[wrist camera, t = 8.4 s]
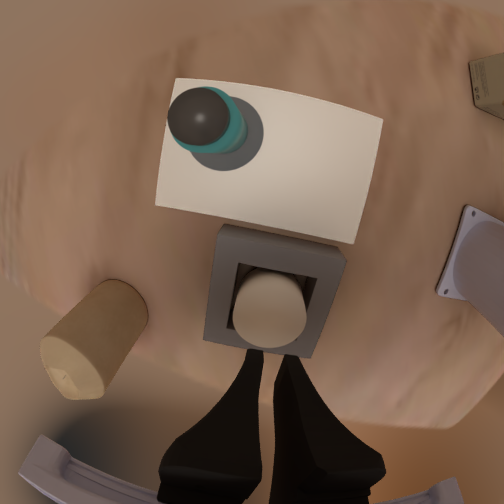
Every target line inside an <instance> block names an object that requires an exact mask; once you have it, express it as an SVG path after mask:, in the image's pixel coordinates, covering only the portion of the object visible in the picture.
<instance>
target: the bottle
mask: <svg viewBox="0 0 504 504" xmlns="http://www.w3.org/2000/svg"><path fill="white" fill-rule="evenodd" d="M167 121H168V126H169V129H170V132H171V134H172V136H173V138H174V140H175V141H176V142H177V143H178V144H179V145H180V146H181V147H183V148H184V149H186V150H188V151H191V152H196V153H220V154H226V153H231V152H234V151H236V150H237V149H239V148H240V147H241V146H242V145H243V144H244V142H245V141H246V138H247V135H248V125H247V122H246V120H245V118H244V117H243V115H242V114H241V112H240V111H239V109H238V108H237V106H236V105H235V103H234V102H233V100H232V99H231V98H230V96H229V95H228V94H226V93H225V92H224V91H222V90H220V89H218V88H215V87H208V86H203V87H197V88H192V89H189V90H186V91H184V92H183V93H181V94H180V95H178V96H177V97H176V98H175V100H174V101H173V102H172V104H171V106H170V108H169V111H168V117H167Z"/></svg>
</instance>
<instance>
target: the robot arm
mask: <svg viewBox="0 0 504 504" xmlns="http://www.w3.org/2000/svg"><path fill="white" fill-rule="evenodd" d="M472 211H473V214H472ZM445 290H446V291H445ZM444 291H445V292H444ZM436 293H437V294H438V295H439V296H442V297H448V298H454V299H459V300H465V301H468V302H470V303H471V304H472V305H473V306H474V307H475V308H476V309H477V310H478V311H479V312H480V313H481V314H482V315H483V316H484V317H485V318H486V319H487V320H488V321H489V322H490V323H491V324H492V325H493V326H494V327H495V328H496V329H497V330H498V332H499V333H500V334H501V335H502V336H503V337H504V222H502V221H500V220H498V219H496V218H494V217H492V216H490V215H489V214H487V213H485V212H483V211H481V210H479V209H476V208H474V207H472V206H470V205H467V206H465V208H464V211H463V215H462V218H461V222H460V225H459V228H458V232H457V235H456V238H455V241H454V244H453V247H452V250H451V253H450V256H449V258H448V261H447V264H446V266H445V269H444V272H443V274H442V277H441V279H440V282H439V284H438V286H437V289H436ZM263 363H264V355H263V350H257V349H252V348H250V349H247V353H246V357H245V361H244V363H243V365H242V367H241V369H240V371H239V373H238V375H237V377H236V378H235V380H234V381H233V383H232V385H231V386H230V388H229V389H228V390H227V392H226V393H225V394H224V396H223V397H222V398H221V400H220V401H219V402H218V403H217V404H216V405H215V406H214V407H213V408H212V410H211V411H210V412H209V413H208V414H207V415H206V416H205V417H203V418H202V419H201V420H200V421H199V422H198V423H197V424H195V425H194V426H193V427H192V428H190V429H189V430H188V431H186V432H185V433H183V434H182V435H181V436H179V437H178V438H176V440H175V441H174V442H173V443H172V445H171V446H170V447H169V448H168V450H167V451H166V453H165V454H164V456H163V458H162V460H161V464H160V467H159V471H158V472H159V476H160V480H161V484H160V488H159V491H158V492H155V491H152V490H149V489H146V488H142V487H140V486H137V485H134V484H131V483H128V482H126V481H123V480H121V479H118V478H116V477H113V476H111V475H108V474H106V473H104V472H101V471H99V470H97V469H95V468H93V467H91V466H88V465H86V464H84V463H82V462H80V461H78V460H76V459H75V458H73V457H71V456H70V454H69V452H68V451H67V450H66V449H65V448H63V447H62V446H60V445H59V444H57V443H55V442H54V441H52V440H50V439H49V438H47V437H45V436H44V435H40V436H39V437H38V439H37V441H36V442H35V444H34V446H33V447H32V449H31V451H30V452H29V454H28V456H27V457H26V459H25V461H24V463H23V464H22V466H21V468H20V470H19V471H18V473H19V475H20V476H22V477H23V478H24V479H25V480H26V481H27V482H29V483H30V484H31V485H32V486H34V487H35V488H36V489H37V490H39V491H40V492H41V493H43V494H44V495H46V496H47V497H49V498H51V499H52V500H54V501H55V502H57V503H59V504H242V503H243V502H244V500H245V499H248V498H249V496H250V495H251V494H252V492H253V491H254V490H255V488H256V487H257V486H258V484H259V483H260V482H261V479H262V461H261V452H260V442H259V418H258V397H259V388H260V382H261V376H262V369H263ZM273 408H274V425H275V454H274V466H273V476H272V485H271V492H270V499H269V504H369V501H368V496H369V495H370V494H371V492H370V487H371V486H373V485H374V484H376V483H377V482H378V481H380V480H381V479H382V478H383V477H384V476H385V474H386V469H385V465H384V461H383V458H382V455H381V454H380V453H378V452H377V451H375V450H374V449H372V448H370V447H369V446H368V445H366V444H365V443H364V442H362V441H361V440H360V439H358V438H357V437H356V436H355V435H354V434H352V433H351V432H350V431H349V430H348V429H347V428H346V427H345V426H344V425H343V424H342V423H341V422H340V421H339V420H338V419H337V418H336V417H335V415H334V414H333V413H332V412H331V411H330V409H329V408H328V407H327V405H326V404H325V403H324V401H323V400H322V398H321V397H320V395H319V394H318V392H317V391H316V389H315V387H314V386H313V384H312V382H311V380H310V379H309V377H308V375H307V373H306V371H305V369H304V367H303V365H302V363H301V361H300V359H299V357H298V356H296V355H289V354H285V355H284V358H283V361H282V363H281V366H280V369H279V372H278V374H277V377H276V380H275V382H274V395H273ZM375 504H464V501H463V498H462V495H461V492H460V489H459V486H458V483H457V480H456V478H455V477H452V478H449V479H446V480H444V481H442V482H439V483H437V484H435V485H434V486H432V487H431V488H430V489H429V490H426V491H423V492H420V493H416V494H413V495H409V496H406V497H402V498H398V499H394V500H389V501H385V502H380V503H375Z"/></svg>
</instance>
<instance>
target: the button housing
mask: <svg viewBox="0 0 504 504" xmlns="http://www.w3.org/2000/svg"><path fill="white" fill-rule="evenodd" d="M346 262H347V260H346V259H345V257H344V256H343V254H342V253H341V251H340V250H339V249H338V247H335V246H331V245H326V244H322V243H317V242H312V241H308V240H303V239H298V238H293V237H288V236H284V235H279V234H274V233H269V232H264V231H259V230H254V229H249V228H244V227H239V226H234V225H228V224H224V225H223V226H222V228H221V230H220V231H219V233H218V234H217V240H216V247H215V254H214V260H213V267H212V274H211V281H210V289H209V296H208V304H207V311H206V319H205V328H204V336H203V340H205V341H210V342H214V343H219V344H224V345H229V346H234V347H239V348H244V349H250V348H252V349H257V350H263V352H267V353H274V354H280V355H285V354H289V355H296V356H298V357H302V358H311V356H312V354H313V351H314V349H315V347H316V344H317V342H318V339H319V337H320V334H321V332H322V329H323V327H324V324H325V321H326V319H327V316H328V313H329V311H330V308H331V305H332V303H333V300H334V297H335V294H336V291H337V289H338V286H339V283H340V280H341V277H342V274H343V271H344V268H345V265H346ZM239 263H242V264H247V265H252V266H257V267H262V268H267V269H272V270H278V271H283V272H288V273H293V274H298V275H303V276H308V277H307V281H306V284H305V287H304V291H303V294H302V295H303V300H304V305H305V309H306V315H307V319H306V325H305V327H304V330H303V331H302V333H301V334H300V335H299V336H298V337H297V338H296V339H295V340H294V341H292V342H290V343H289V344H286V345H284V346H281V347H276V348H264V347H258V346H255V345H253V344H250V343H249V342H247V341H245V340H244V339H243V338H242V337H241V336H240V335H239V334H238V333H237V331H236V329H235V327H234V324H233V311H234V309H231V305H232V300H233V294H234V289H235V284H236V278H237V273H238V267H239Z"/></svg>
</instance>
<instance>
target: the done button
mask: <svg viewBox="0 0 504 504" xmlns="http://www.w3.org/2000/svg"><path fill="white" fill-rule="evenodd" d="M306 319H307V315H306V309H305V305H304V300H303V295H302V290H301V286H300V284H299V282H298V280H297V279H296V277H295V276H294V275H293V274H292V273H288V272H283V271H278V270H272V269H267V268H262V267H260V268H257V269H255V270H253V271H251V272H250V273H248V274H247V275H246V276H245V277H244V278H243V280H242V281H241V283H240V285H239V289H238V293H237V298H236V302H235V307H234V311H233V324H234V327H235V329H236V331H237V333H238V334H239V335H240V336H241V337H242V338H243V339H244V340H245V341H247V342H249V343H250V344H253V345H255V346H258V347H264V348H276V347H281V346H284V345H286V344H289V343H290V342H292V341H294V340H295V339H296V338H297V337H298V336H299V335H300V334H301V333H302V331H303V330H304V327H305V325H306Z"/></svg>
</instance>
